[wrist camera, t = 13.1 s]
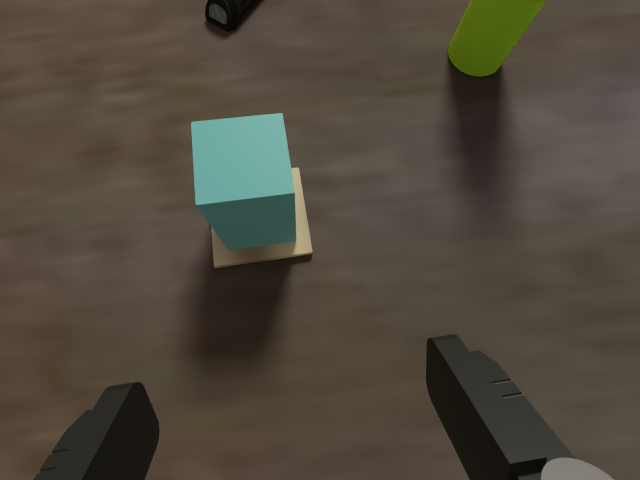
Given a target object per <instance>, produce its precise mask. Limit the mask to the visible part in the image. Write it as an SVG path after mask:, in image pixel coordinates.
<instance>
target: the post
mask: <svg viewBox="0 0 640 480" xmlns="http://www.w3.org/2000/svg"><path fill="white" fill-rule="evenodd" d="M291 172H292V178H293V184H294V191H295V212H296V240H297V241H295V242H287V243H280V244H273V245H266V246H259V247H251V248H244V249H237V250H230V251H228V249H227V248H226V247H225V245H224V244H223V242H222V241H221V240H220V238H219V237H218V235H217V234H216V233H215V231H214V230H213V228H212V227H211V231H212V245H213V259H214V267H215V268H220V267H227V266H234V265H241V264H248V263H255V262H262V261H269V260H276V259H283V258H290V257H297V256H303V255H310V254H312V253H313V252H312V246H311V240H310V234H309V228H308V222H307V216H306V210H305V203H304V197H303V191H302V185H301V179H300V173H299V168H291Z"/></svg>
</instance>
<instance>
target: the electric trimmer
mask: <svg viewBox="0 0 640 480" xmlns="http://www.w3.org/2000/svg"><path fill="white" fill-rule="evenodd" d="M252 1H253V0H208V2H207V5H206V10H205V17H206V19H207V21H208V22H210V23H212V24H214V25H216V26H218V27H220V28H222V29H224V30H226V31H230V30H231V29H235V28H236V27H237V25H238V21H239V17H240V14H241V13H242V12H243V10H244V9H245V8H246V7H247V6H248V5H249V4H250V3H251V2H252Z"/></svg>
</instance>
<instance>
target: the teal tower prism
mask: <svg viewBox="0 0 640 480" xmlns="http://www.w3.org/2000/svg"><path fill="white" fill-rule="evenodd" d="M191 128H192V146H193V164H194V182H195V200H196V206H197V207H198V209H199V210H200V212H201V213H202V214H203V216H204V217H205V219H206V220H207V221H208V223H209V224H210V226H211V227H212V228H213V230H214V231H215V233H216V234H217V235H218V237H219V238H220V240H221V241H222V242H223V244H224V245H225V247H226V248H227V249H228V251H230V250H237V249H244V248H251V247H259V246H266V245H273V244H280V243H287V242H295V241H297V240H296V212H295V191H294V184H293V178H292V172H291V165H290V159H289V152H288V146H287V140H286V133H285V127H284V120H283V114H282V113H278V114H268V115H257V116H247V117H237V118H227V119H217V120H207V121H197V122H191Z"/></svg>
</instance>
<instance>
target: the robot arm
mask: <svg viewBox="0 0 640 480" xmlns="http://www.w3.org/2000/svg"><path fill="white" fill-rule="evenodd" d="M426 383H427V388H428V392H429V396H430V399H431V401H432V403H433V405H434V407H435V409H436V411H437V414H438V416H439V418H440V420H441V422H442V424H443V426H444V428H445V430H446V432H447V434H448V436H449V438H450V440H451V442H452V444H453V446H454V448H455V450H456V452H457V454H458V456H459V458H460V460H461V463H462V465H463V467H464V469H465V471H466V473H467V475H468V477H469V479H470V480H614V479H613V478H611V477H610V476H609V475H608V474H606V473H605V472H603V471H602V470H600V469H598V468H597V467H595V466H593V465H591V464H589V463H586V462H584V461H581V460H578V459H576V458H575V457H574V456H573V455H572V454H571V452H570V451H569V450H568V449H567V448H566V447H565V445H564V444H563V443H562V442H561V440H560V439H559V438H558V437H557V435H556V434H555V433H554V432H553V431H552V429H551V428H550V427H549V426H548V424H547V423H546V422H545V421H544V419H543V418H542V417H541V416H540V415H539V413H538V412H537V411H536V410H535V408H534V407H533V406H532V405H531V404H530V402H529V401H528V400H527V399H526V397H525V396H522V394H521V391H520V390H519V389H518V388H517V386H516V385H515V384H514V383H513V382H511V380H510V378H509V377H508V375H507V374H506V373H505V372H504V370H503V369H502V368H501V367H500V365H499V364H498V363H497V362H495V361H494V360H493V359H491V358H490V357H488V356H487V355H485V354H484V353H482V352H481V351H479V350H478V351H472V352H469V351H468V349H467V348H466V346H465V345H464V344H463V342H462V341H461V340H460V338H459V337H458V336H457V335H447V336H441V337H434V338H429V339H428V340H427V361H426ZM158 440H159V422H158V419H157V417H156V414H155V412H154V409H153V407H152V405H151V402H150V400H149V397H148V395H147V393H146V390H145V388H144V386H143V384H142V383H140V382H134V383H128V384H121V385H115V386H110V387H108V388H107V389H106V390H105V391H104V392H103V394H102V395H101V397H100V398H99V400H98V402H97V403H96V405H95V406H94V408H93V410H87V411H86V412H85V413H84V414H82V415H81V416H80V417H79V418H78V419H77V420H76V421H75V422H74V423H73V424H72V425H71V426H70V427H69V428H68V429H67V430H66V431H65V433H64V434H63V436H62V437H61V439H60V440H59V442H58V443H57V445H56V446H55V448H54V449H53V451H52V452H53V453H52V455H49V457H48V458H47V460H46V461H45V463H44V464H43V466H42V467H41V469H40V473H39V474H37V475H36V476H35V478H34V479H33V480H145V477H146V474H147V472H148V469H149V466H150V463H151V461H152V458H153V455H154V453H155V450H156V447H157V444H158Z"/></svg>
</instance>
